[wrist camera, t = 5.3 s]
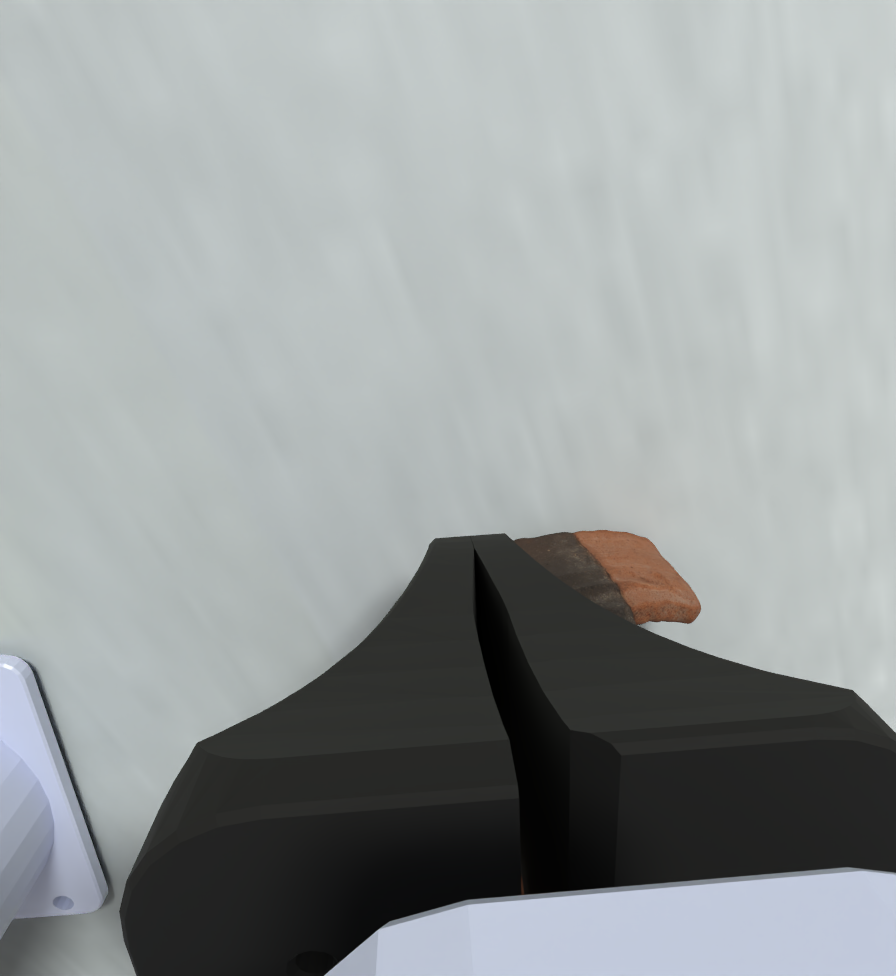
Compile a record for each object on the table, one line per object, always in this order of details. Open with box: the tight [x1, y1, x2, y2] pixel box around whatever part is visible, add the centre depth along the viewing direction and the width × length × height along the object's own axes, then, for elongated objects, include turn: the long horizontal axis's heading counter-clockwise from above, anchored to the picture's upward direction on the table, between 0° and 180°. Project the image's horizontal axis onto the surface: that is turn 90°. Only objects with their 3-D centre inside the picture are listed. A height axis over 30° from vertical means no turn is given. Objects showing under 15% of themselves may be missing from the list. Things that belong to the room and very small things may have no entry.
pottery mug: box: [514, 530, 701, 895], centre depth 13 cm, size 12×10×8 cm
